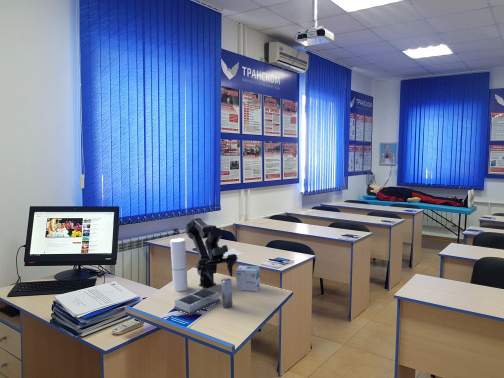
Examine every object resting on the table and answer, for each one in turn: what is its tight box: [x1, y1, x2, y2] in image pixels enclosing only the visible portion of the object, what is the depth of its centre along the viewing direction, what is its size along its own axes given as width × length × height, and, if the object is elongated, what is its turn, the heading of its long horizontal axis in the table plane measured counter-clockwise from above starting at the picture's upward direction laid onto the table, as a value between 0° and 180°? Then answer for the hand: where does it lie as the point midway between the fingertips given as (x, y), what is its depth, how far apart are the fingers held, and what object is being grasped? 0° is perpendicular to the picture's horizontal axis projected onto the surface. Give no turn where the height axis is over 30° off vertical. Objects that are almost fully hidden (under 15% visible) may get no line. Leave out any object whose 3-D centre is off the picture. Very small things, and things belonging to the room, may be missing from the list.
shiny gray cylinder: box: [221, 278, 234, 310], centre depth 165 cm, size 4×4×12 cm
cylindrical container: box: [169, 237, 189, 292], centre depth 187 cm, size 7×7×25 cm
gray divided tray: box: [173, 287, 222, 316], centre depth 168 cm, size 18×11×4 cm, turn 140°
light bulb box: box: [235, 264, 261, 292], centre depth 185 cm, size 11×7×11 cm, turn 74°
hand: (222, 278), depth 170 cm, fingers open, 9 cm apart
